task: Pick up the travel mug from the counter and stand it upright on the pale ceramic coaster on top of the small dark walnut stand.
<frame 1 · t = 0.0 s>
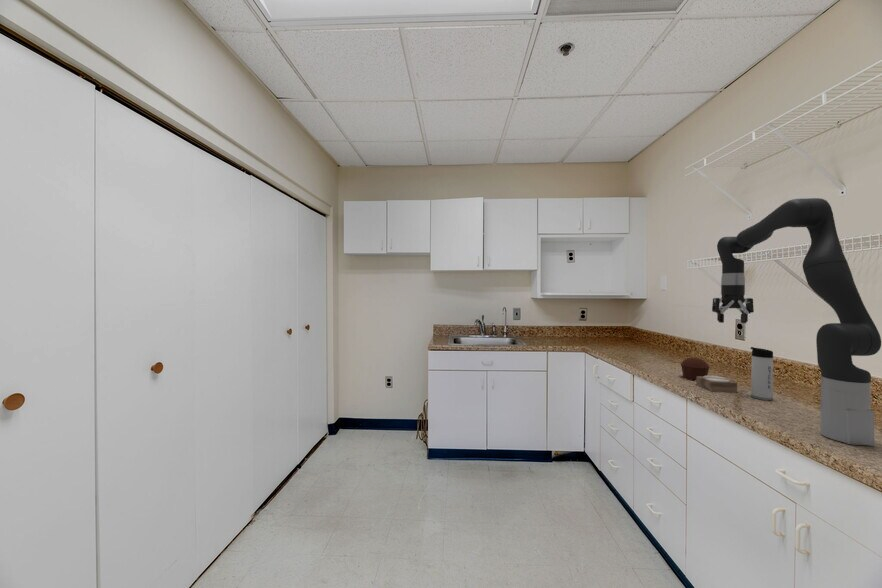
hand: (732, 322, 142), 29 cm above the worktop, tool pointing down, fingers open, 8 cm apart
muffin: (694, 379, 164), on the worktop
travel mug: (761, 398, 134), on the worktop
walnut stand: (715, 388, 147), on the worktop
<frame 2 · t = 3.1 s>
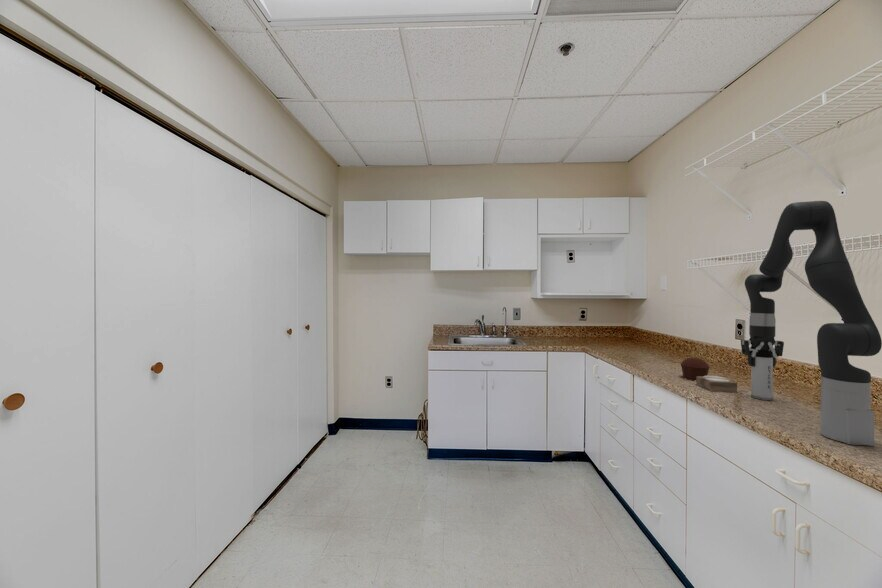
hand: (761, 366, 134), 13 cm above the worktop, tool pointing down, fingers closed on travel mug, 6 cm apart
travel mug: (761, 398, 134), on the worktop, touching gripper
everything else where it was.
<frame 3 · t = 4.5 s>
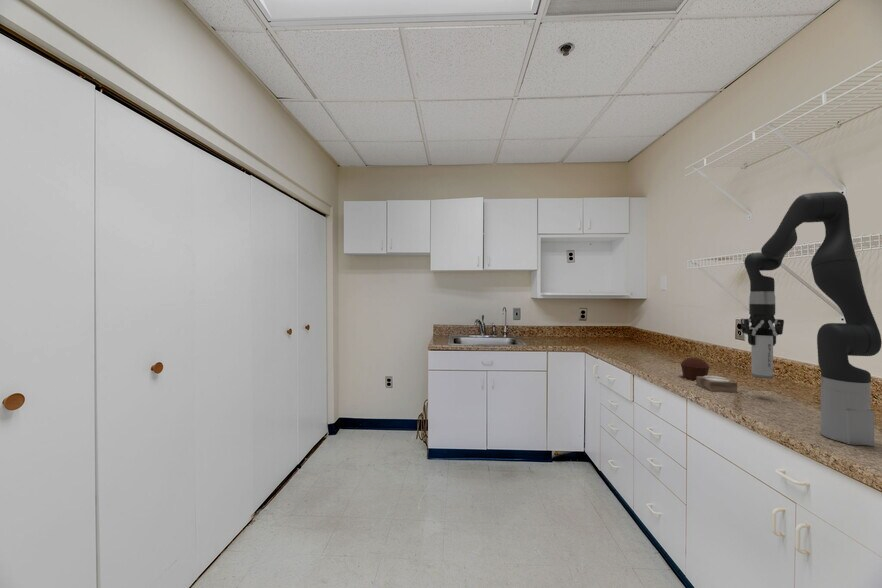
hand: (761, 344, 134), 21 cm above the worktop, tool pointing down, fingers closed on travel mug, 6 cm apart
travel mug: (761, 377, 134), point 8 cm above the worktop, touching gripper
everything else where it was.
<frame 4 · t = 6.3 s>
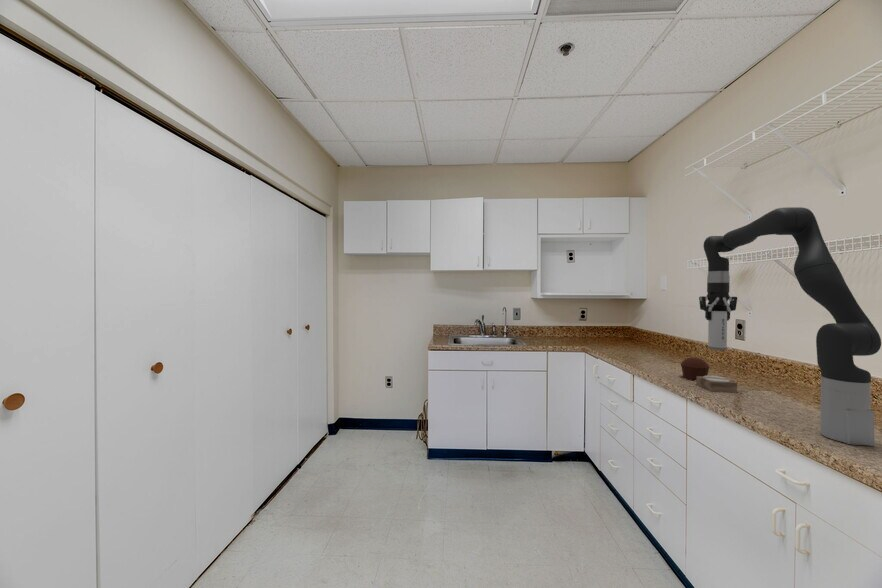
hand: (717, 320, 147), 30 cm above the worktop, tool pointing down, fingers closed on travel mug, 6 cm apart
travel mug: (716, 349, 147), point 17 cm above the worktop, touching gripper
everything else where it was.
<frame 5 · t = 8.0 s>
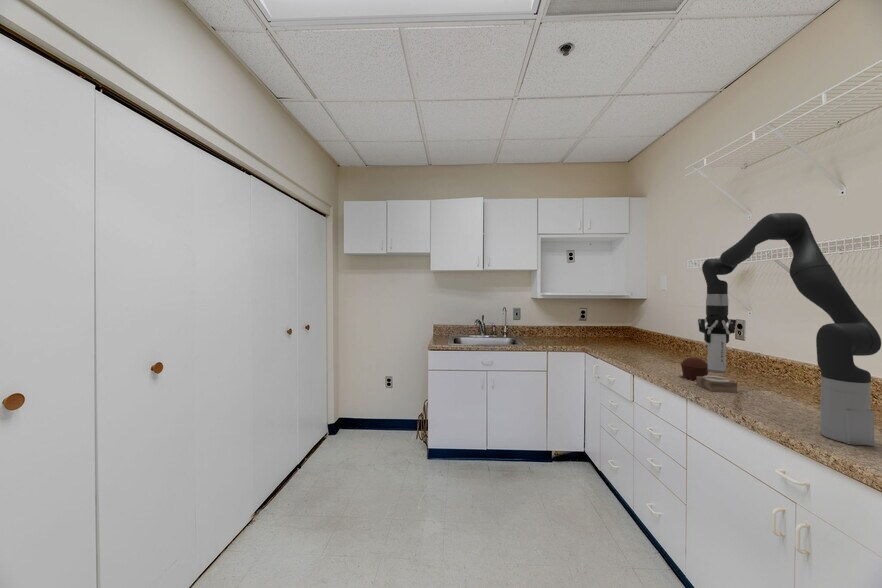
hand: (716, 342, 147), 20 cm above the worktop, tool pointing down, fingers closed on travel mug, 6 cm apart
travel mug: (716, 372, 147), point 7 cm above the worktop, touching gripper
everything else where it was.
when the fingers open (18 cm above the worktop, at t = 9.4 s): travel mug drops 1 cm, resting on walnut stand.
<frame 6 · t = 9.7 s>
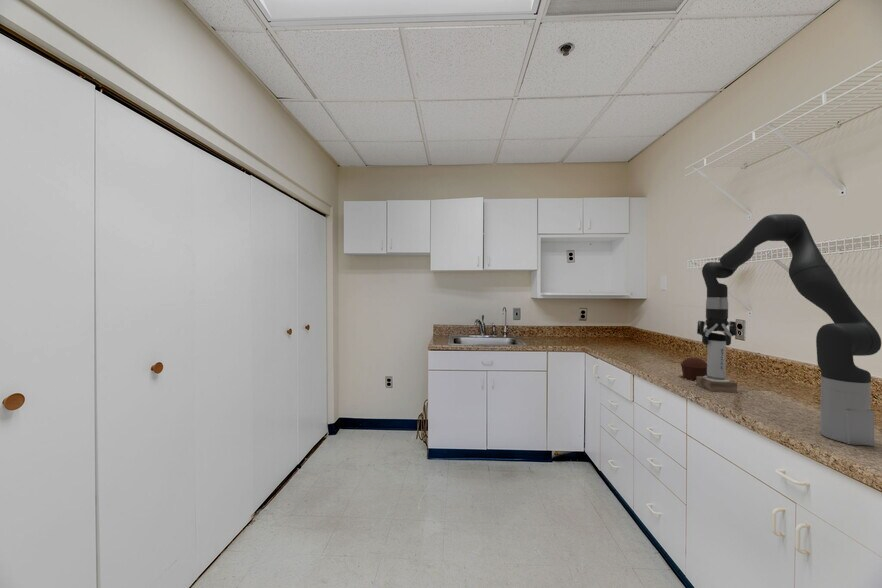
hand: (716, 345, 147), 19 cm above the worktop, tool pointing down, fingers open, 8 cm apart
travel mug: (715, 378, 147), point 4 cm above the worktop, touching walnut stand
everything else where it was.
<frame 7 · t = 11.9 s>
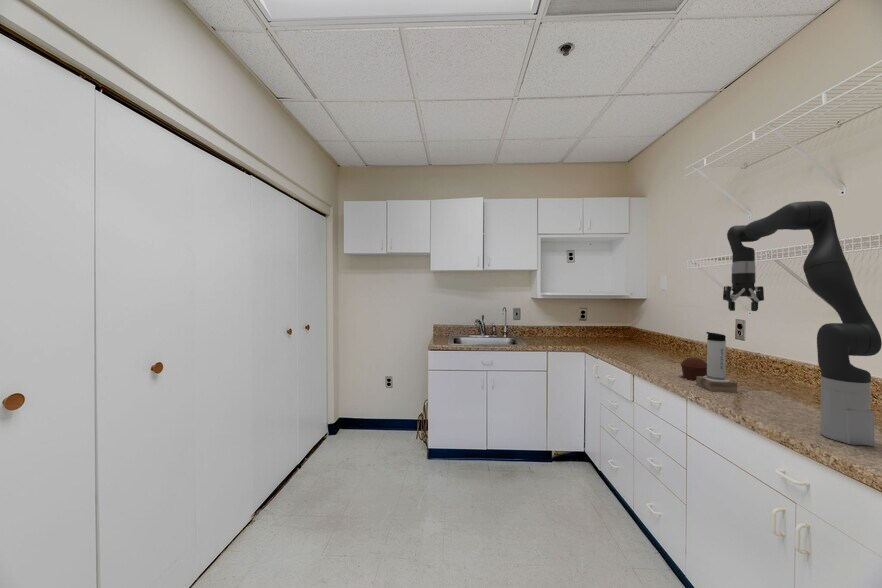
hand: (743, 310, 143), 34 cm above the worktop, tool pointing down, fingers open, 8 cm apart
nothing on the worktop moved.
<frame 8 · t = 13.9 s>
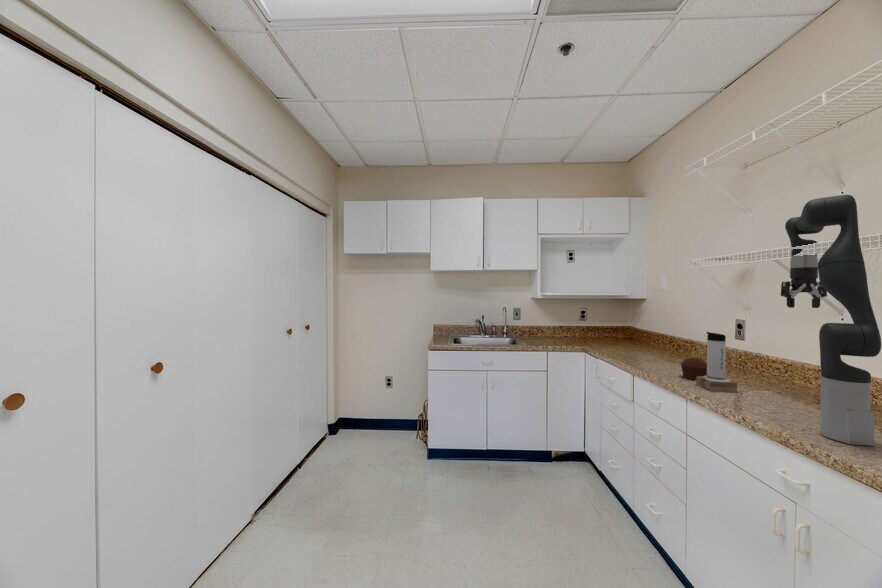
hand: (803, 307, 134), 36 cm above the worktop, tool pointing down, fingers open, 8 cm apart
nothing on the worktop moved.
at the end: travel mug 0.3 cm off-centre on the walnut stand, point 4.3 cm above the walnut stand's base; travel mug tilted 0°; the gripper is holding nothing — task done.
